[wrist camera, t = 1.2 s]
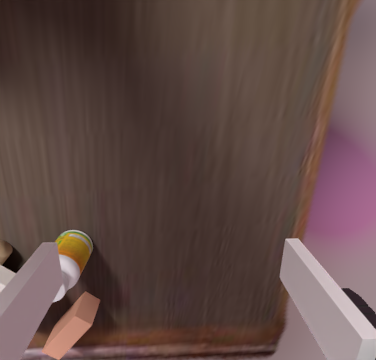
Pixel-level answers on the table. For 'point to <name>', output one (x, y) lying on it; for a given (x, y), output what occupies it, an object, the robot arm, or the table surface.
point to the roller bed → (4, 251)
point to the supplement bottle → (72, 258)
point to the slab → (5, 277)
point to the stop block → (72, 325)
